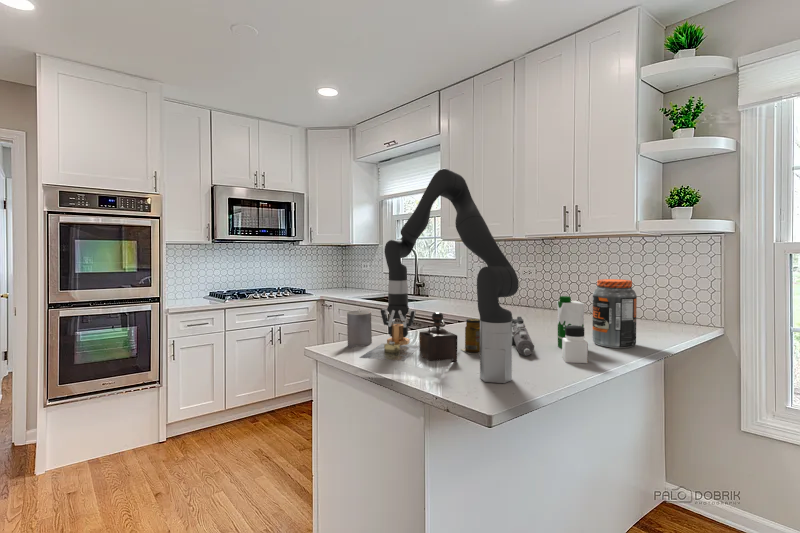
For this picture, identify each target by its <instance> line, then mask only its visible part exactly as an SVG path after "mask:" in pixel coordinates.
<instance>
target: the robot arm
mask: <svg viewBox="0 0 800 533" xmlns="http://www.w3.org/2000/svg"><path fill="white" fill-rule="evenodd" d="M439 197H442V198H445V199H447V200H449V201H450V203H451V204H452V206H453V207H454V209H455V212H456V217H455V228H456V232H457V234H458V235H459V238H460V240H461V242H462V244H464V246H465V247H466V248H467V249H468V250H470V251H471V253H473V254H475V256H477V257H478V258H480V259H481V260H482V261H483V262H484V264H486V266H483V267H482V268H481V269H479V270H478V273H477V277H476V296H477V310H478V312H479V320H480V354H479V379H481V380H482V381H483V382H485V383H498V384H506V383H508V382H511V381H512V379H513V363H512V362H513V360H512V359H513V353H512V352H513V345H512V317H513V314H512V311H511V310H509V309H506V308H504V307H502V306H501V305H500V300H499V298H507V297H508V298H509V297H512V296H513V297H514V295H516V294H517V292H518V290H519V278H518V275H517V273H516V271H515V269H514V267H513V265H512V264H511V263H510V261H509V260H508V259H507V257H506V255H505V254H504V253H503V251H502V250H501V248H500V246H499V245H498V243H497V241H496V240H495V238H494V236H493V235H492V232H491V231H490V229H489V227H488V225H487V223H486V221H485V219H484V217H483V215H482V214H481V213H480V210H479V209H478V206H477V205H476V203H475V201H474V199H473V197H472V195H471V191H470V189H469V187H468V183H467V182H466V179H465V178H464V177H463V176H462V175H461V174H459V173H457V172H455V171H452V170H450V169H448V168H440V169H439V170H437V171H436V172H435V174H434V175H433V176H432V178H431V179H430V181H429V183H428V185H427V187H426V188H425V190H424V192H423V194H422V196H421V197H420V198H421V199H420V201H419V202H418V204H417V206H416V208H415V210H414V211H413V213H412V214H411V215H410V217H409V218H408V219H407V220H406V221H405V223H404V224H403V226H402V228H401V229H400V235H401V238H400V239H389V240H388V241H387V242H386V243H385V246H384V257H385V261H386V265H387V270H388V283H387V285H388V286H387V300H388V301H387V302H388V303H387V304H388V306H387V307H386V308H382V309H380V315H381V319H382V323H383V325H384V326H387V327H388V335H389V337H392V325H393V324H395V320H396V319H399V320H401V322H402V323H401V324H403V326H404V327H403V337H406V338H407V336H408V334H409V327H411V326H413V325H414V321H415V317H416V314H417V311H416V310H414V309H410V308H409V286H408V268H407V266H406V265H404V264H402V261H401V259H404V258H407V257H408V256H410V255H411V253H412V250H413V249H414V247H415V245H416V243H417V240H418V239H419V238H420V237H421V235H422V234H423V232H424V231H425V230H426V228H427V226H428V225H429V222H430V216H431V212H432V208H433V205H434V203H435V202H436V200H438V198H439ZM388 313H389V315H390V316H389V318H388ZM407 314H408V315H409V319H408V317H407Z"/></svg>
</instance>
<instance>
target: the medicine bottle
mask: <svg viewBox="0 0 800 533" xmlns="http://www.w3.org/2000/svg"><path fill="white" fill-rule="evenodd" d="M565 337H566V338H562V349H561V358H562V360H563V361H564V362H565V363H567V364H570V363H572V364H588V363H589V343H588V341H587V340H586V339H585V327H582V326H579V325H568V326H566V327H565Z"/></svg>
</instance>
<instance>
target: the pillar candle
mask: <svg viewBox="0 0 800 533" xmlns="http://www.w3.org/2000/svg"><path fill="white" fill-rule="evenodd" d="M346 313H347V319H346V321H347V323H346V324H347V325H346V326H347V328H346V329H347V348H349V349H353V348H355V347H360V346H362V347H363V346H369V345H372V343H373V339H372V338H373V337H372V336H373V333H372V329H373V328H372V311H369V310H360V308H359V309H358V310H351V311H348V312H346Z"/></svg>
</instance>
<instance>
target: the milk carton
mask: <svg viewBox="0 0 800 533" xmlns="http://www.w3.org/2000/svg"><path fill="white" fill-rule="evenodd" d="M571 298H572V297H571V296H567V295H562V296H559V300H557V301H556V306H557V347H558V348H560V349H561V350H562V338H566V337H565V327H566V326H568V325H579V326H582V327H584V326H585V324H584V320H585V318H584V315H585V303H584V302H582V301H577V300H573V301H572V300H571ZM584 328H585V327H584Z"/></svg>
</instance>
